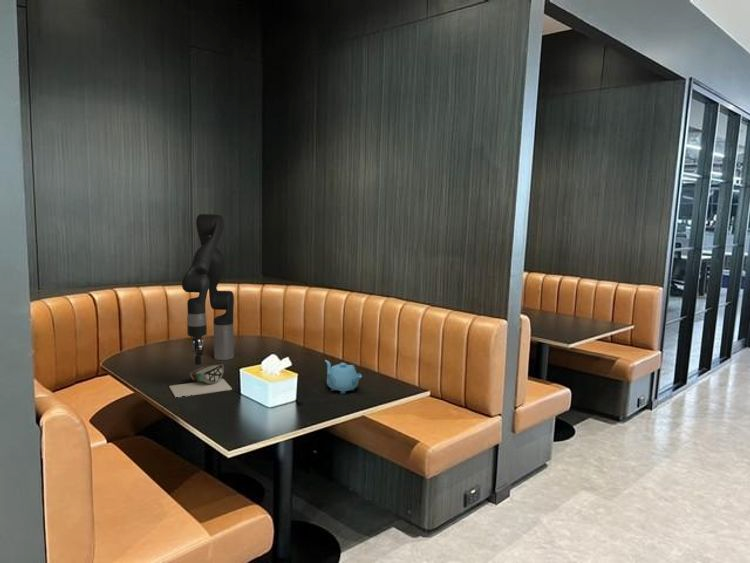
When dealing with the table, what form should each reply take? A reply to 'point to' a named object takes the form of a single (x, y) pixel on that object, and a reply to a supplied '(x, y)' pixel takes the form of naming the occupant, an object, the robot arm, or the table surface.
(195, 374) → the food container
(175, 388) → the mat
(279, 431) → the table surface
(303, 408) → the table surface
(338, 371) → the teapot
